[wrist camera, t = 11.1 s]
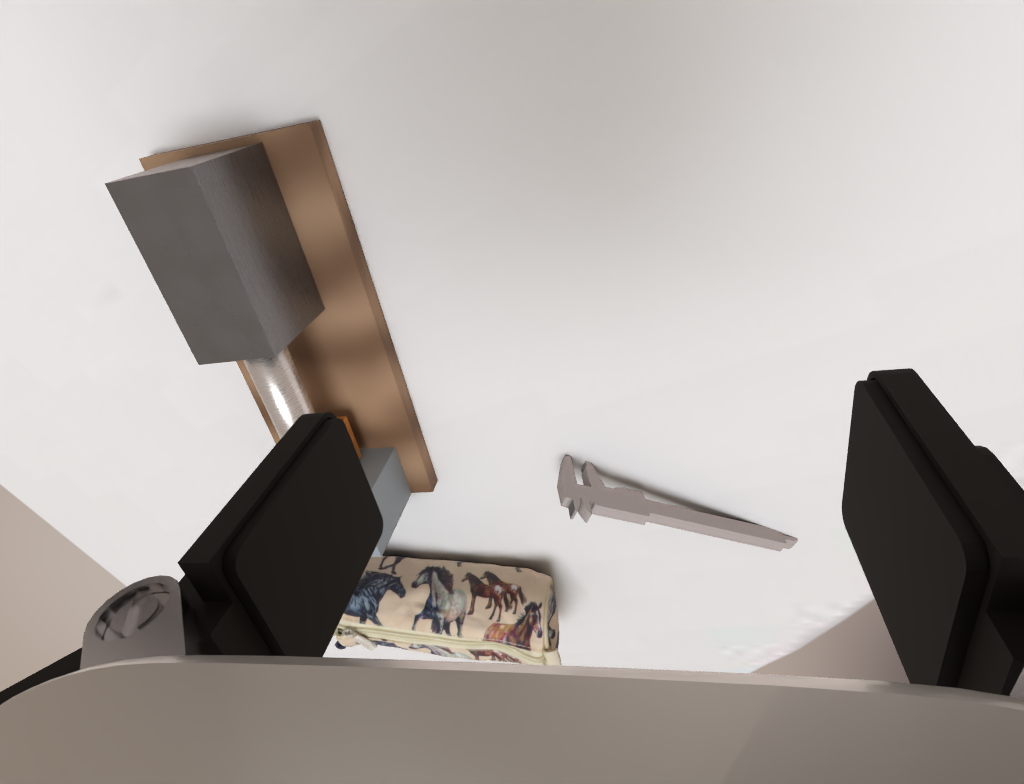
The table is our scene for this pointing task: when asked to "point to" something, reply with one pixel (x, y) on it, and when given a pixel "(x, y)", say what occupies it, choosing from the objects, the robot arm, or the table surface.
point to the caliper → (654, 510)
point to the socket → (386, 488)
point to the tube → (284, 392)
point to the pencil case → (453, 610)
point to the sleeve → (222, 252)
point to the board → (335, 303)
